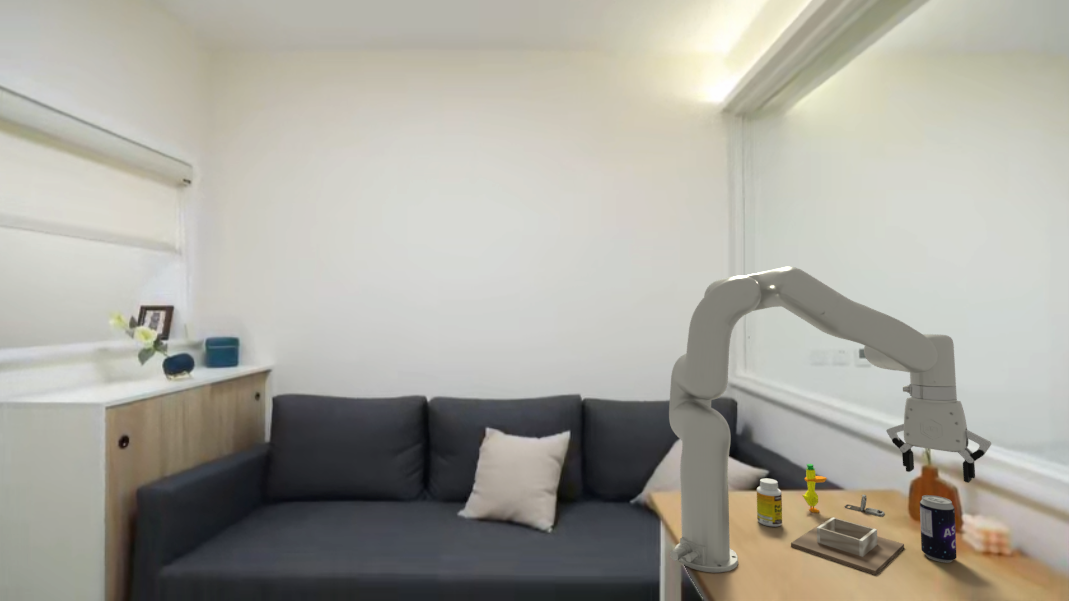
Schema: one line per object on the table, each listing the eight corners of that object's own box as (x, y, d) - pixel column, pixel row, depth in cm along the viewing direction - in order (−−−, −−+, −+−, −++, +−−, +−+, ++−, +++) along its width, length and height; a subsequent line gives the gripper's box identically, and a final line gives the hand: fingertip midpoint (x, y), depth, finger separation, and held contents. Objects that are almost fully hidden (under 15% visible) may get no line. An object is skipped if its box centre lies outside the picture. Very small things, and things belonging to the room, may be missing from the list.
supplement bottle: (777, 529, 119) (776, 486, 119) (753, 523, 123) (752, 480, 123) (786, 523, 122) (784, 480, 123) (762, 516, 126) (761, 475, 127)
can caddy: (875, 575, 98) (874, 554, 98) (790, 546, 110) (790, 528, 110) (904, 547, 109) (903, 528, 109) (824, 524, 121) (824, 507, 121)
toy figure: (822, 508, 132) (821, 461, 132) (831, 513, 128) (830, 466, 128) (798, 509, 131) (796, 462, 132) (806, 514, 128) (805, 466, 128)
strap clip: (885, 515, 128) (884, 498, 128) (882, 518, 125) (881, 501, 126) (847, 506, 134) (846, 489, 134) (843, 508, 132) (843, 492, 132)
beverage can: (948, 566, 100) (945, 506, 101) (916, 555, 105) (913, 497, 106) (962, 560, 103) (959, 501, 103) (930, 549, 108) (928, 492, 108)
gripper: (879, 391, 110) (883, 470, 109) (984, 400, 96) (989, 490, 96) (890, 387, 114) (894, 463, 114) (991, 395, 101) (997, 481, 100)
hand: (937, 475), depth 105 cm, fingers open, 9 cm apart
